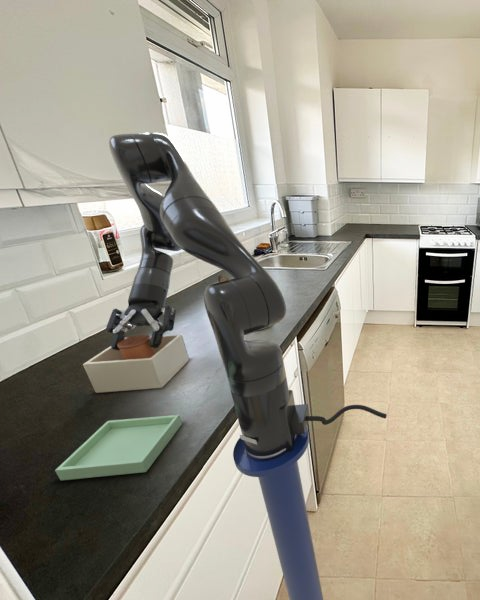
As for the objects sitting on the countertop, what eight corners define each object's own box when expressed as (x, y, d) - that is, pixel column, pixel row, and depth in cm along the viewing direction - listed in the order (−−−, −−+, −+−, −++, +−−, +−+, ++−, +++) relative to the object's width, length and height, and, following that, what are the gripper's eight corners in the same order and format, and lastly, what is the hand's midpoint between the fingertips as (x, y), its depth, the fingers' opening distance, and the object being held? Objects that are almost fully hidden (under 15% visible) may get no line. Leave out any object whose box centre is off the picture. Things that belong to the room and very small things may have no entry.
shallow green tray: (182, 423, 63) (179, 414, 62) (146, 472, 52) (141, 462, 51) (111, 429, 61) (107, 420, 61) (60, 480, 51) (54, 470, 50)
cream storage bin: (189, 359, 85) (182, 334, 83) (162, 387, 74) (151, 359, 71) (132, 363, 84) (123, 337, 81) (95, 393, 72) (82, 364, 70)
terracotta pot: (166, 364, 82) (155, 333, 79) (151, 378, 76) (139, 346, 73) (140, 365, 81) (129, 335, 78) (123, 380, 76) (110, 347, 72)
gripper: (110, 283, 78) (90, 346, 72) (170, 280, 80) (156, 342, 73) (131, 296, 85) (115, 354, 79) (186, 293, 86) (175, 350, 80)
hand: (135, 348), depth 76 cm, fingers open, 8 cm apart
